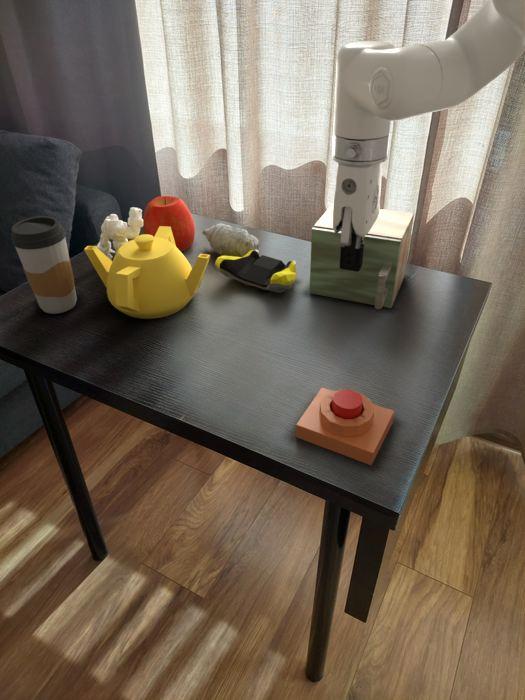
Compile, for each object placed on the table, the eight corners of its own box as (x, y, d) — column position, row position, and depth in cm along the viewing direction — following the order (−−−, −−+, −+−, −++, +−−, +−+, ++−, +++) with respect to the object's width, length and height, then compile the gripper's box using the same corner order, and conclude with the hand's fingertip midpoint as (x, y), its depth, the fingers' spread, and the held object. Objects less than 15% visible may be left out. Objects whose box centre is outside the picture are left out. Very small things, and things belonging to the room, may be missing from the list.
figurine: (154, 263, 105) (144, 205, 98) (144, 275, 101) (134, 215, 94) (106, 259, 107) (93, 202, 99) (95, 271, 103) (81, 212, 95)
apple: (135, 246, 111) (127, 197, 105) (176, 230, 117) (170, 183, 111) (166, 262, 105) (158, 211, 99) (207, 244, 111) (203, 195, 105)
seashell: (215, 226, 112) (217, 198, 105) (261, 264, 108) (267, 238, 101) (193, 241, 109) (194, 214, 102) (240, 281, 105) (245, 255, 99)
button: (365, 405, 65) (367, 394, 64) (355, 423, 63) (356, 412, 62) (338, 396, 67) (339, 385, 65) (327, 413, 64) (328, 402, 63)
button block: (392, 423, 68) (396, 400, 65) (371, 465, 62) (375, 442, 60) (321, 399, 72) (322, 376, 69) (295, 437, 66) (296, 414, 64)
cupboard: (391, 306, 90) (401, 238, 82) (311, 291, 95) (313, 225, 87) (404, 277, 98) (414, 213, 91) (329, 264, 103) (332, 202, 95)
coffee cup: (63, 288, 97) (41, 211, 89) (93, 301, 93) (73, 221, 85) (24, 308, 92) (-3, 228, 83) (53, 322, 88) (28, 240, 79)
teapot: (126, 336, 84) (111, 270, 77) (92, 293, 96) (77, 232, 89) (217, 305, 92) (212, 242, 84) (176, 268, 103) (168, 210, 96)
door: (384, 324, 86) (394, 255, 78) (300, 307, 90) (301, 241, 83) (391, 306, 90) (401, 239, 83) (310, 291, 94) (313, 227, 87)
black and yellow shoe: (280, 308, 90) (309, 283, 97) (280, 280, 87) (310, 256, 94) (212, 285, 97) (243, 263, 104) (209, 258, 94) (242, 238, 101)
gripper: (375, 165, 65) (362, 294, 75) (398, 135, 76) (384, 251, 86) (316, 160, 67) (312, 286, 78) (347, 131, 78) (340, 245, 89)
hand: (350, 267), depth 82 cm, fingers closed
